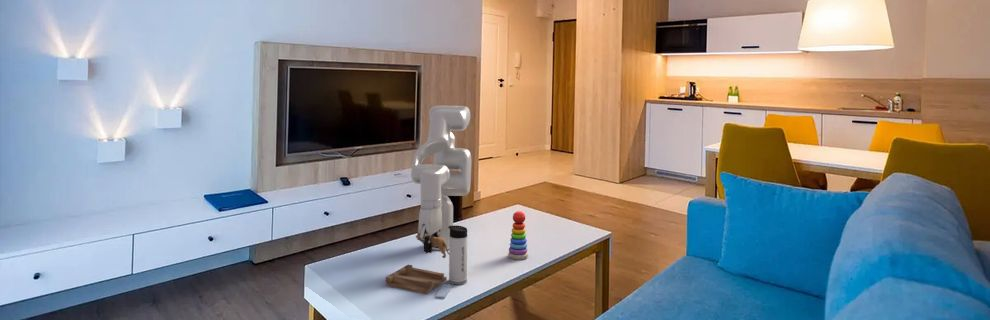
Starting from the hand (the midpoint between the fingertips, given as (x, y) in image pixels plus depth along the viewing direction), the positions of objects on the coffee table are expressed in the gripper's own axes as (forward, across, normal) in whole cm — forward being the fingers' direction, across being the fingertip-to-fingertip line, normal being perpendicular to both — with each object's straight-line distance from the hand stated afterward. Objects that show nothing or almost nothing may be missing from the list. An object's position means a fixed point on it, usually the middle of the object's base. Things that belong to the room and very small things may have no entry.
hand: (431, 249), depth 199 cm
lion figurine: (+2, 0, +1) cm, 2 cm away
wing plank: (+7, +18, +15) cm, 24 cm away
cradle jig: (+7, +15, +3) cm, 16 cm away
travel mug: (+7, +8, +15) cm, 18 cm away
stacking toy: (+9, -26, +25) cm, 37 cm away
